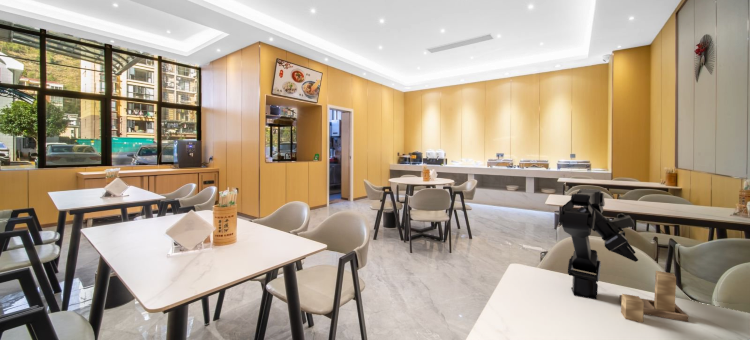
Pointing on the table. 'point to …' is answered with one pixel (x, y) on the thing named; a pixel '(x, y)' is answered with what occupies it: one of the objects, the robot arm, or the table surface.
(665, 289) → the long peg
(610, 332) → the table surface
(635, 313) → the short peg
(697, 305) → the table surface
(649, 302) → the socket board
